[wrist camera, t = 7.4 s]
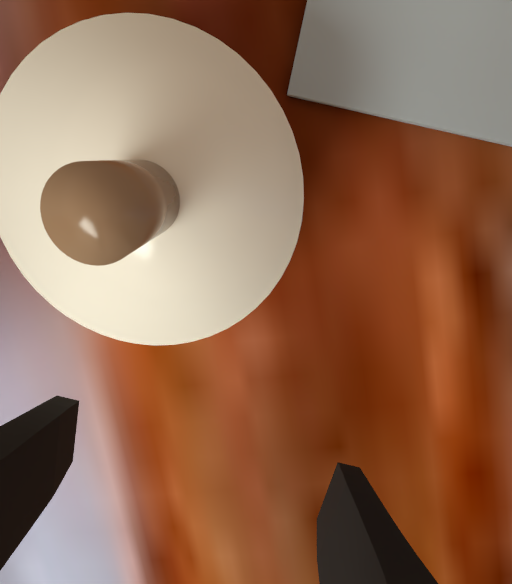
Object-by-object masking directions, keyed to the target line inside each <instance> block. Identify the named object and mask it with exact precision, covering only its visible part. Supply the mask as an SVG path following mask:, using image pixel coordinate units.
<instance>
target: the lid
mask: <svg viewBox="0 0 512 584" xmlns="http://www.w3.org/2000/svg"><path fill="white" fill-rule="evenodd" d="M303 204H304V186H303V173H302V167H301V161H300V155H299V151H298V148H297V145H296V141H295V138H294V134H293V132H292V129H291V127H290V125H289V122H288V120H287V118H286V116H285V113H284V111H283V109H282V108H281V106H280V104H279V103H278V101H277V99H276V98H275V96H274V94H273V93H272V91H271V90H270V88H269V87H268V86H267V85H266V83H265V82H264V81H263V79H262V78H261V77H260V76H259V74H258V73H257V72H256V71H255V70H254V69H253V68H252V67H251V66H250V65H249V64H248V63H247V62H246V61H245V60H244V59H243V58H242V57H241V56H240V55H239V54H238V53H236V52H235V51H234V50H232V49H231V48H230V47H228V46H227V45H225V44H224V43H223V42H221V41H220V40H219V39H217V38H215V37H213V36H211V35H210V34H208V33H206V32H204V31H202V30H200V29H198V28H197V27H194V26H191V25H189V24H186V23H183V22H181V21H178V20H175V19H172V18H167V17H162V16H157V15H152V14H141V13H118V14H109V15H101V16H98V17H94V18H90V19H86V20H83V21H80V22H77V23H75V24H73V25H71V26H69V27H66V28H64V29H62V30H60V31H58V32H57V33H55V34H54V35H52V36H51V37H49V38H48V39H46V40H45V41H43V42H42V43H40V44H39V45H38V46H37V47H36V48H35V49H34V50H33V51H32V52H31V53H30V54H28V55H27V56H26V57H25V58H24V60H23V61H22V62H21V63H20V65H19V66H18V67H17V68H16V70H15V71H14V72H13V73H12V75H11V76H10V78H9V80H8V81H7V83H6V85H5V87H4V88H3V90H2V92H1V94H0V237H1V239H2V241H3V243H4V245H5V247H6V249H7V251H8V253H9V255H10V256H11V258H12V260H13V261H14V263H15V264H16V266H17V267H18V269H19V270H20V271H21V273H22V274H23V276H24V277H25V278H26V279H27V280H28V282H29V283H30V284H31V285H32V286H33V287H34V289H35V290H36V291H37V292H38V293H39V294H40V295H41V296H42V297H44V298H45V299H46V300H47V301H48V302H49V303H50V304H51V305H52V306H54V307H55V308H56V309H58V310H59V311H60V312H62V313H63V314H64V315H65V316H67V317H69V318H70V319H72V320H74V321H75V322H77V323H79V324H80V325H82V326H84V327H86V328H88V329H90V330H92V331H95V332H97V333H99V334H101V335H105V336H108V337H111V338H114V339H117V340H121V341H125V342H130V343H135V344H145V345H175V344H181V343H187V342H193V341H196V340H200V339H203V338H206V337H210V336H212V335H214V334H216V333H219V332H221V331H223V330H225V329H227V328H229V327H230V326H232V325H234V324H235V323H237V322H239V321H240V320H242V319H243V318H244V317H246V316H247V315H248V314H249V313H251V312H252V311H253V310H254V309H256V308H257V307H258V306H259V304H260V303H261V302H262V301H263V300H264V299H265V298H266V297H267V296H268V295H269V294H270V292H271V291H272V290H273V288H274V287H275V285H276V284H277V283H278V281H279V280H280V279H281V277H282V275H283V273H284V271H285V269H286V267H287V266H288V264H289V262H290V259H291V257H292V254H293V251H294V249H295V246H296V243H297V240H298V236H299V231H300V227H301V223H302V214H303Z"/></svg>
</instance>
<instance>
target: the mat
mask: <svg viewBox="0 0 512 584" xmlns="http://www.w3.org/2000/svg"><path fill="white" fill-rule="evenodd" d="M287 96H290V97H295V98H299V99H304V100H308V101H312V102H317V103H321V104H326V105H330V106H334V107H339V108H343V109H348V110H352V111H356V112H361V113H365V114H370V115H374V116H378V117H383V118H387V119H392V120H396V121H400V122H405V123H409V124H414V125H418V126H422V127H427V128H431V129H436V130H440V131H444V132H449V133H453V134H458V135H462V136H466V137H471V138H475V139H480V140H484V141H488V142H493V143H497V144H501V145H506V146H510V147H512V0H307V4H306V9H305V13H304V18H303V22H302V27H301V32H300V36H299V41H298V46H297V50H296V55H295V59H294V64H293V69H292V73H291V78H290V83H289V87H288V92H287Z"/></svg>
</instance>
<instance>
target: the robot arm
mask: <svg viewBox="0 0 512 584" xmlns="http://www.w3.org/2000/svg"><path fill="white" fill-rule="evenodd" d="M78 406H79V401H77V400H73V399H69V398H65V397H60V396H56V397H54V398H52V399H50V400H48V401H46V402H44V403H42V404H41V405H39V406H37V407H35V408H33V409H31V410H30V411H28V412H26V413H24V414H22V415H20V416H19V417H17V418H15V419H13V420H11V421H9V422H7V423H5V424H4V425H2V426H0V570H1V569H2V567H3V566H4V565H5V563H6V562H7V560H8V559H9V558H10V556H11V555H12V553H13V552H14V551H15V549H16V548H17V547H18V545H19V544H20V542H21V541H22V540H23V538H24V537H25V535H26V534H27V533H28V531H29V530H30V528H31V527H32V526H33V524H34V523H35V521H36V520H37V519H38V517H39V516H40V514H41V513H42V512H43V510H44V509H45V507H46V506H47V504H48V503H49V502H50V500H51V499H52V497H53V496H54V494H55V492H56V490H57V489H58V487H59V485H60V483H61V482H62V480H63V478H64V476H65V474H66V472H67V471H68V469H69V467H70V465H71V463H72V461H73V453H74V443H75V434H76V425H77V416H78ZM317 562H318V572H319V581H320V584H438V583H437V581H436V580H435V579H434V578H433V576H432V575H431V573H430V572H429V571H428V569H427V568H426V567H425V565H424V564H423V563H422V561H421V560H420V559H419V557H418V556H417V555H416V553H415V552H414V550H413V549H412V547H411V546H410V545H409V543H408V542H407V540H406V539H405V537H404V536H403V534H402V533H401V532H400V530H399V529H398V527H397V526H396V524H395V523H394V521H393V519H392V518H391V516H390V515H389V513H388V512H387V510H386V509H385V507H384V505H383V504H382V502H381V501H380V499H379V498H378V496H377V494H376V493H375V491H374V490H373V488H372V486H371V485H370V483H369V482H368V480H367V478H366V477H365V475H364V474H363V472H362V471H361V469H360V468H359V467H355V466H351V465H346V464H342V463H337V466H336V469H335V471H334V474H333V477H332V480H331V482H330V485H329V488H328V490H327V493H326V496H325V499H324V501H323V504H322V507H321V509H320V512H319V515H318V518H317Z"/></svg>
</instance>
